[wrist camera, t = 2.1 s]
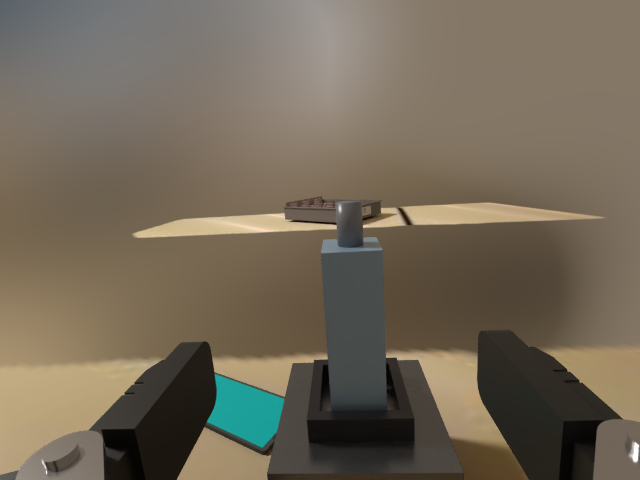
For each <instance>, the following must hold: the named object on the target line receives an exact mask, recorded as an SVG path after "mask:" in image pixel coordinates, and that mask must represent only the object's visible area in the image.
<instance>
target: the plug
mask: <svg viewBox="0 0 640 480" xmlns="http://www.w3.org/2000/svg"><path fill="white" fill-rule="evenodd" d="M335 204H336V222H337V239H332V240H323V245H322V250H321V264H322V278H323V293H324V309H325V323H326V338H327V353H328V368H329V383H330V398H331V411H370V410H387V389H386V351H385V313H384V276H383V250H382V248H381V246H380V244H379V242H378V240H377V238H376V237H373V238H371V237H370V238H363V220H362V201H340V202H336V203H335Z"/></svg>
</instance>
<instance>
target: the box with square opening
mask: <svg viewBox="0 0 640 480" xmlns="http://www.w3.org/2000/svg"><path fill="white" fill-rule="evenodd" d="M386 389H387V410H370V411H331V398H330V383H329V368H328V360H314V363H293V365H292V369H291V373H290V378H289V382H288V386H287V391H286V395H285V399H284V403H283V408H282V412H281V416H280V421H279V425H278V429H277V433H276V438H275V442H274V446H273V451H272V455H271V459H270V464H269V468H268V472H267V477H268V480H464V472H463V469H462V467H461V464H460V462H459V459H458V457H457V454H456V452H455V449H454V447H453V445H452V442H451V440H450V437H449V435H448V432H447V430H446V427H445V425H444V422H443V420H442V417H441V415H440V413H439V410H438V408H437V405H436V403H435V400H434V398H433V395H432V393H431V390H430V388H429V385H428V383H427V381H426V378H425V376H424V373H423V371H422V368H421V366H420V363H419V361H418V360H399V361H397V358H386Z"/></svg>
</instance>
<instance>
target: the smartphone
mask: <svg viewBox="0 0 640 480" xmlns="http://www.w3.org/2000/svg"><path fill="white" fill-rule="evenodd" d="M214 374H215V380H216V387H217V397H216V403H215V407H214V409H213V411H212V413H211V415H210V417H209V419H208V421H207V423H206V425H205V427H206V428H208V429H210V430H212V431H214V432H216V433H218V434H220V435H222V436H224V437H226V438H228V439H231V440H233V441H235V442H237V443H239V444H241V445H243V446H245V447H247V448H249V449H251V450H253V451H256V452H258V453H260V454H262V455H266V454H267V453H268V452H269V451H270V450H271V448H272V447H273V446H274V442H275V438H276V433H277V429H278V425H279V421H280V416H281V412H282V408H283V403H284V399H285V397H283V396H280V395H277V394H274V393H271V392H269V391H266V390H263V389H260V388H257V387H255V386H252V385H249V384H246V383H243V382H240V381H238V380H235V379H232V378H229V377H226V376H224V375H221V374H218V373H215V372H214Z"/></svg>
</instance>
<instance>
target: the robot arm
mask: <svg viewBox="0 0 640 480" xmlns="http://www.w3.org/2000/svg"><path fill="white" fill-rule="evenodd" d="M477 382H478V389H479V394H480V397H481V400H482V402H483V404H484V406H485V407H486V409H487V411H488V412H489V414H490V416H491V417H492V419H493V421H494V422H495V424H496V425H497V427H498V429H499V430H500V432H501V434H502V435H503V437H504V439H505V440H506V442H507V444H508V445H509V447H510V449H511V450H512V452H513V454H514V455H515V457H516V459H517V460H518V462H519V464H520V465H521V467H522V468H523V470H524V472H525V473H526V475H527V477H528V478H529V480H640V422H636V421H631V420H624V419H622V418H621V417H620V416H619V415H618V414H617V413H616V412H614V411H613V410H612V409H611V408H610V407H609V406H608V405H607V404H605V403H604V402H603V401H602V400H601V399H600V398H599V397H598V396H596V395H595V394H594V393H593V392H592V391H591V390H590V389H589V388H587V387H586V386H585V385H584V384H583V383H580V382H579V380H578V379H577V378H576V377H575V376H574V375H573V374H572V373H571V372H568V371H567V369H566V368H565V367H564V366H563V365H562V364H560V363H559V362H558V361H557V360H556V359H555V358H554V357H552V356H550V355H548V354H547V353H545V352H543V351H541V350H539V349H537V348H535V347H528V346H527V345H526V344H525V343H524V342H523V341H521V339H519V338H518V337H517V336H516V335H515V334H514V333H513V332H512V331H511V330H488V331H481V332H480V333H479V337H478V372H477ZM216 397H217V387H216V380H215V374H214V367H213V361H212V355H211V349H210V346H209V344H208V343H207V342H183V343H180V344H179V345H178V346H177V347H176V348H175V349H174V351H173V352H172V353H171V354H170V355H169V356H168V357H167V358H166V359H165V360H162V361H160V362H159V363H157V364H155V365H154V366H152V367H151V368H149V369H148V370H146V371H145V372H144V373H143V374H142V375H141V376H140V377H139V378H138V379H137V380H136V381H135V384H134V385H132V386H131V387H130V388H129V389H128V390H127V391H126V392H125V395H122V396H121V397H120V398H119V399H118V400H117V401H116V402H115V403H114V404H113V405H112V406H111V407H110V408H109V410H108V411H107V412H106V413H105V414H104V415H103V416H102V417H101V418H100V419H99V420H98V421H97V422H96V423H95V424H94V425H93V426H92V427H91V428H90V429H89V430H88V431H79V432H75V433H71V434H68V435H66V436H63V437H61V438H58V439H56V440H54V441H52V442H51V443H49V444H47V445H46V446H44V447H42V448H41V449H40V450H38V451H37V452H36V453H34V454H33V455H32V456H31V457H30V458H29V459H28V460H27V461H26V462H25V463H24V464H23V465H22V467H21V468H20V470H18V471H14V472H10V473H7V474H3V475H0V480H177V478H178V476H179V474H180V472H181V470H182V468H183V466H184V464H185V463H186V461H187V459H188V457H189V455H190V453H191V451H192V449H193V447H194V445H195V444H196V442H197V440H198V438H199V436H200V434H201V432H202V430H203V428H204V427H205V425H206V423H207V421H208V419H209V417H210V415H211V413H212V411H213V409H214V407H215V403H216Z"/></svg>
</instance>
